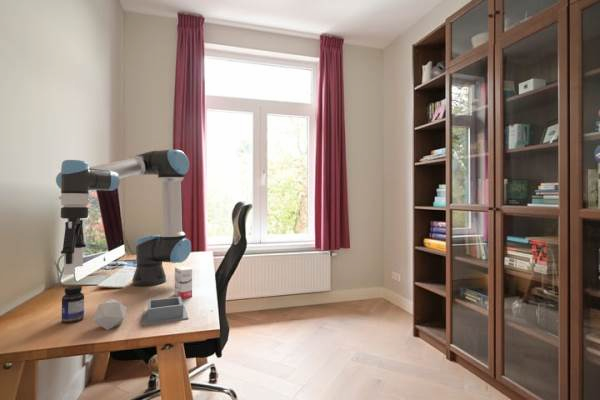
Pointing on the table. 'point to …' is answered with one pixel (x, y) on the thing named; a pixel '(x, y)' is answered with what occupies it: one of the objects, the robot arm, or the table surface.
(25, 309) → the table surface
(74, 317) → the pill bottle
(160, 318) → the well
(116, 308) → the die
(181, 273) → the ink box
